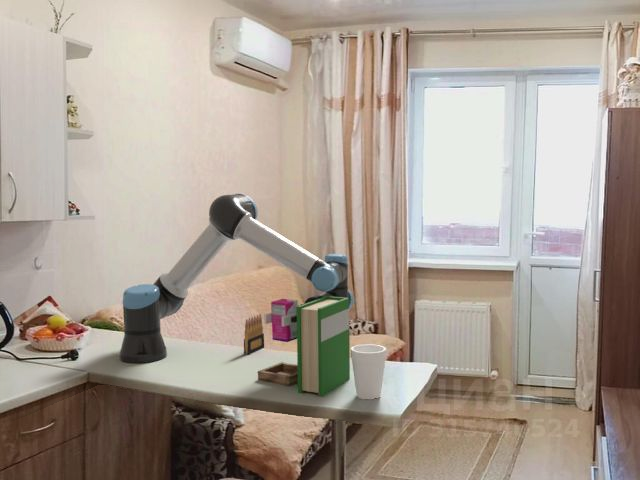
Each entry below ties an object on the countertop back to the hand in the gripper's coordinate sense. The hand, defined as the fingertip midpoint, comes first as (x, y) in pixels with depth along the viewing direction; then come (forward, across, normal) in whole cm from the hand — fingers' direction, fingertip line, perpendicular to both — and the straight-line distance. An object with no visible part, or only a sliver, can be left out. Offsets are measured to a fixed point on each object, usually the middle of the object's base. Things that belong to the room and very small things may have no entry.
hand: (274, 320), depth 192 cm
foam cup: (-4, -29, -18) cm, 34 cm away
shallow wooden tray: (-5, 0, -18) cm, 19 cm away
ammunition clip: (-24, +28, -18) cm, 41 cm away
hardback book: (-5, -14, -18) cm, 24 cm away
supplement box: (-5, 0, -7) cm, 8 cm away
